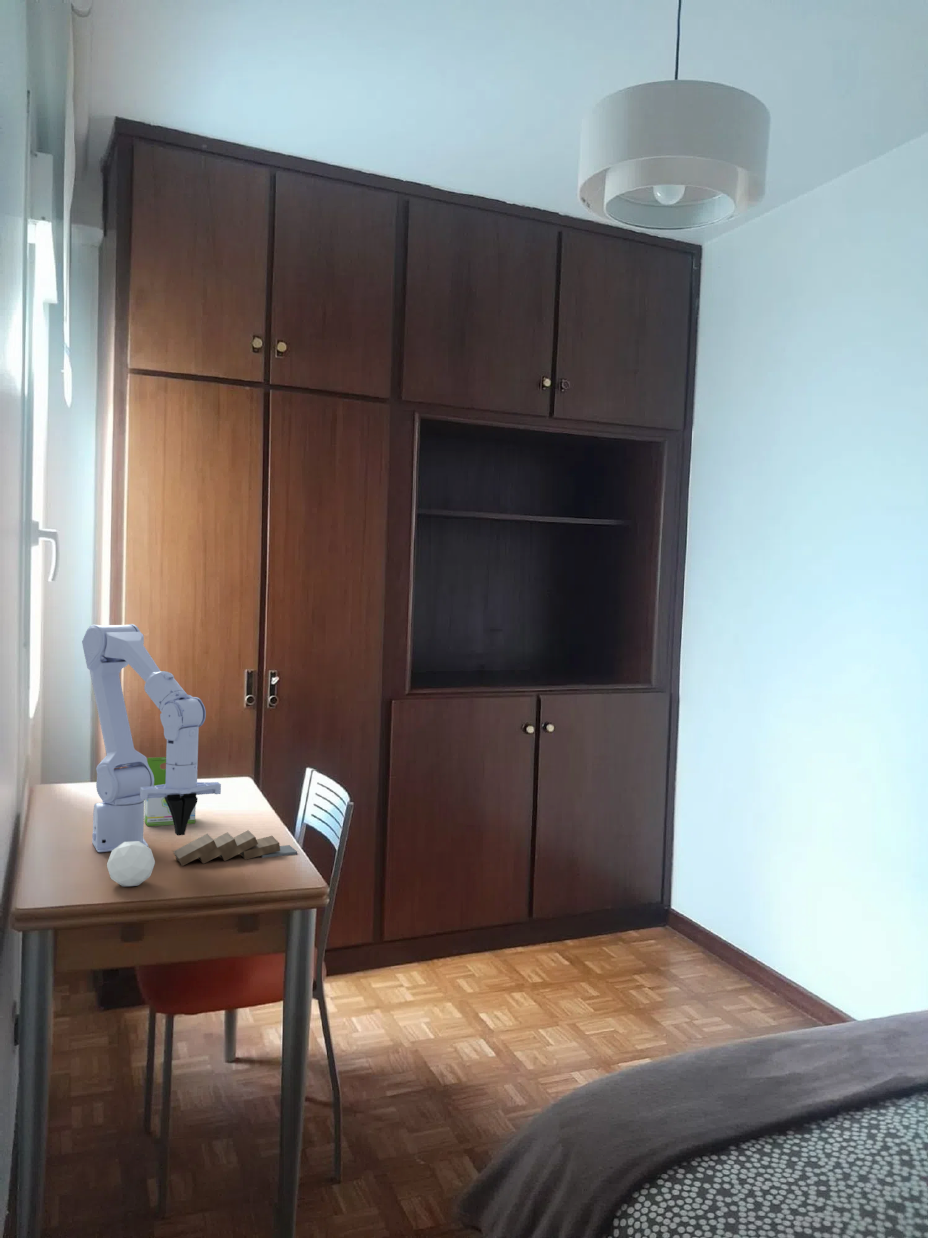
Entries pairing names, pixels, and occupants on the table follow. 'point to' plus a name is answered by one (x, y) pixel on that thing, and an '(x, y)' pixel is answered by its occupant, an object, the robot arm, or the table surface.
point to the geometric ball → (130, 863)
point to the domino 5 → (282, 852)
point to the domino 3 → (240, 845)
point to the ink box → (159, 799)
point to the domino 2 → (219, 847)
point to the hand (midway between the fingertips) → (179, 834)
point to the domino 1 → (195, 849)
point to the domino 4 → (262, 848)
